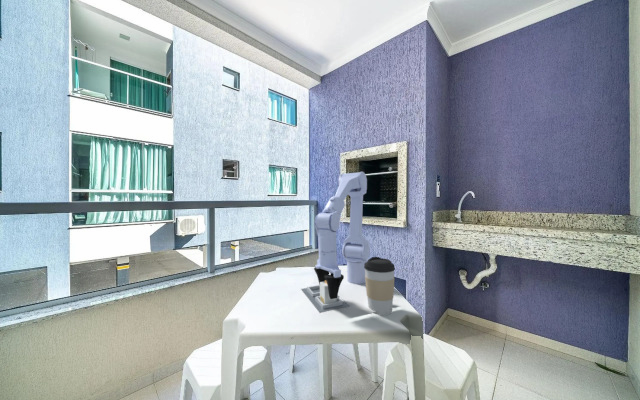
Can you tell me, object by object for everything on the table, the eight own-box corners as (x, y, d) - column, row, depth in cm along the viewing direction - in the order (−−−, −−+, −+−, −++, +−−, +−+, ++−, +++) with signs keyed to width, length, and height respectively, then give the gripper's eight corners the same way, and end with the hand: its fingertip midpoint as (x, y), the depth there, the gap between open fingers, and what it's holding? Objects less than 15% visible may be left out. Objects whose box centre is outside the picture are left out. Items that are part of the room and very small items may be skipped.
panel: (325, 286, 85) (325, 282, 85) (350, 308, 67) (350, 302, 67) (300, 291, 81) (300, 286, 81) (319, 315, 64) (319, 309, 64)
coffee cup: (401, 315, 63) (400, 262, 63) (371, 318, 61) (370, 264, 61) (387, 301, 72) (386, 255, 72) (360, 304, 70) (359, 256, 70)
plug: (331, 298, 73) (330, 278, 73) (336, 303, 69) (336, 282, 69) (320, 300, 71) (319, 280, 71) (324, 306, 67) (324, 284, 67)
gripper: (308, 247, 75) (309, 287, 75) (324, 256, 62) (325, 305, 62) (327, 245, 78) (328, 284, 78) (346, 254, 65) (347, 300, 64)
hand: (328, 293), depth 70 cm, fingers open, 7 cm apart
